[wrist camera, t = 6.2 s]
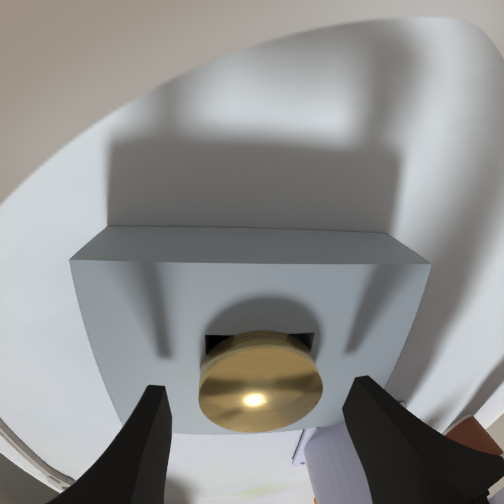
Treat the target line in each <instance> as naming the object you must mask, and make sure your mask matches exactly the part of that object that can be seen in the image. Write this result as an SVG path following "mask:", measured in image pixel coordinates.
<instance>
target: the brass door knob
mask: <svg viewBox="0 0 504 504" xmlns="http://www.w3.org/2000/svg"><path fill="white" fill-rule="evenodd" d="M322 393H323V383H322V380H321V377H320V374H319V372H318V369H317V367H316V364H315V362H314V359H313V357H312V354H311V352H310V350H309V349H308V347H307V346H306V345H305V344H304V343H303V342H302V341H300V340H299V339H297V338H296V337H294V336H291V335H289V334H286V333H282V332H278V331H269V330H257V331H249V332H244V333H240V334H237V335H223V341H221V342H220V343H218V344H217V345H215V346H214V347H213V348H212V349H211V350H210V351H209V352H208V353H207V354H206V356H205V357H204V359H203V361H202V363H201V367H200V376H199V397H198V401H199V406H200V409H201V411H202V412H203V414H204V415H205V416H206V417H207V418H208V419H209V420H210V421H211V422H213V423H215V424H216V425H218V426H220V427H223V428H226V429H229V430H232V431H238V432H246V433H258V432H267V431H272V430H277V429H280V428H283V427H286V426H289V425H291V424H293V423H295V422H297V421H299V420H300V419H302V418H303V417H305V416H306V415H307V414H309V413H310V412H311V411H312V410H313V409H314V408H315V407H316V405H317V404H318V402H319V400H320V398H321V396H322Z"/></svg>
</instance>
